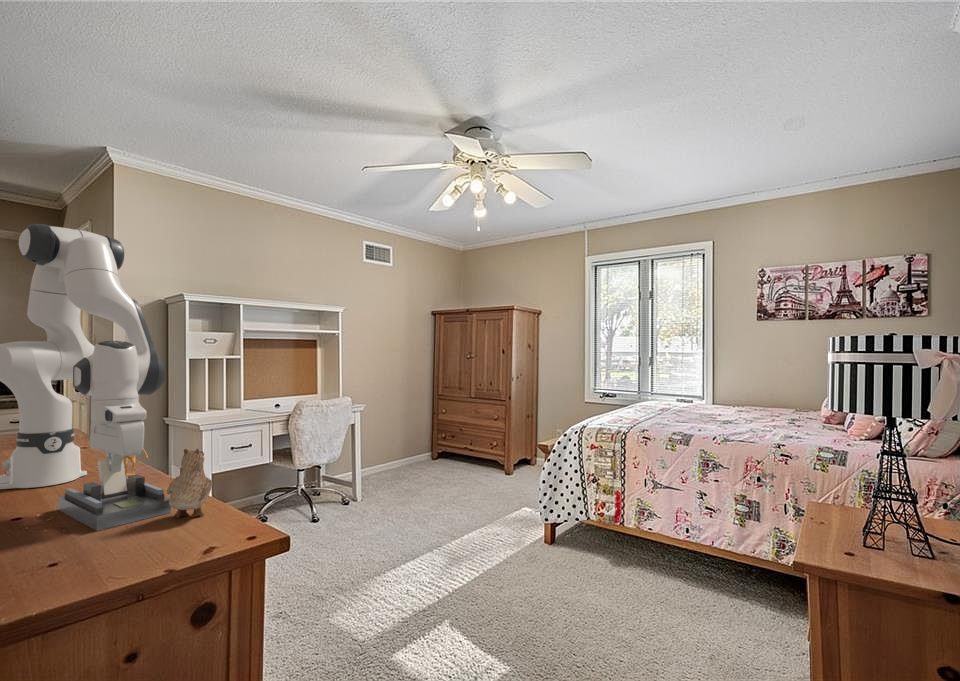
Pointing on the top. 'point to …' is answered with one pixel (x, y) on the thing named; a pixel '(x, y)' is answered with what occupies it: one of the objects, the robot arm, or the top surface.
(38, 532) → the top surface
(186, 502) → the figurine
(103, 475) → the lever
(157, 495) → the pair of grey bars
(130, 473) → the figurine
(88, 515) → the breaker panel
